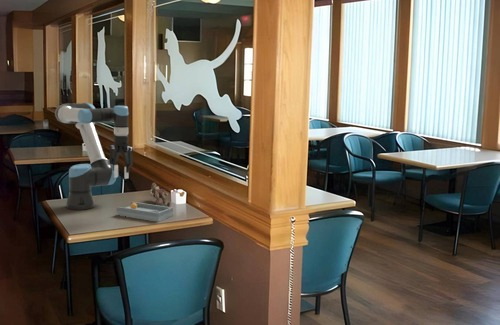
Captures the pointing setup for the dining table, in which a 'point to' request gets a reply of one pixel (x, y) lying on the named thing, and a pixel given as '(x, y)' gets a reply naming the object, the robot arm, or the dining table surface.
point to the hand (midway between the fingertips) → (121, 177)
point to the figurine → (158, 194)
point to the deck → (146, 212)
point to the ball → (133, 205)
